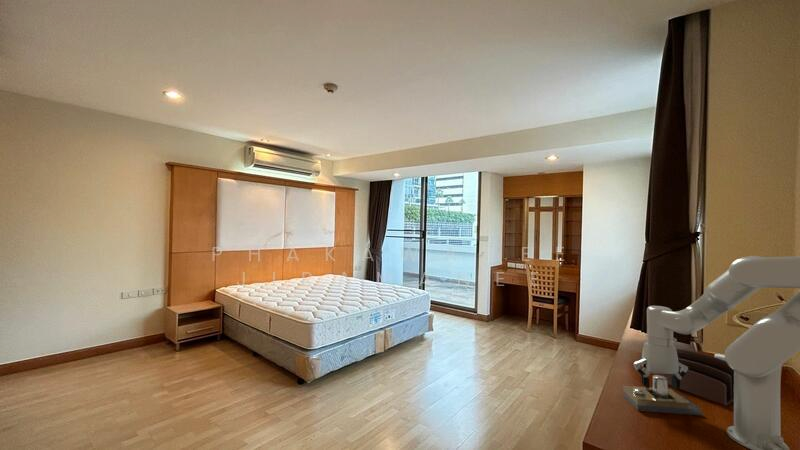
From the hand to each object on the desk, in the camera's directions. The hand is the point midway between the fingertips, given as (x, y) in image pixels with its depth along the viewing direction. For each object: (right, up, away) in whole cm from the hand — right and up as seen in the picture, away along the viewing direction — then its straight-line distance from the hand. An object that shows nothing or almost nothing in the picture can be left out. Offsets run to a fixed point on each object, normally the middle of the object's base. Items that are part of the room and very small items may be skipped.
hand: (660, 387), depth 119 cm
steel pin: (0, -6, 0) cm, 6 cm away
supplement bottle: (+42, -6, +20) cm, 47 cm away
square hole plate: (0, -6, 0) cm, 6 cm away
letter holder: (+23, -7, +10) cm, 26 cm away
